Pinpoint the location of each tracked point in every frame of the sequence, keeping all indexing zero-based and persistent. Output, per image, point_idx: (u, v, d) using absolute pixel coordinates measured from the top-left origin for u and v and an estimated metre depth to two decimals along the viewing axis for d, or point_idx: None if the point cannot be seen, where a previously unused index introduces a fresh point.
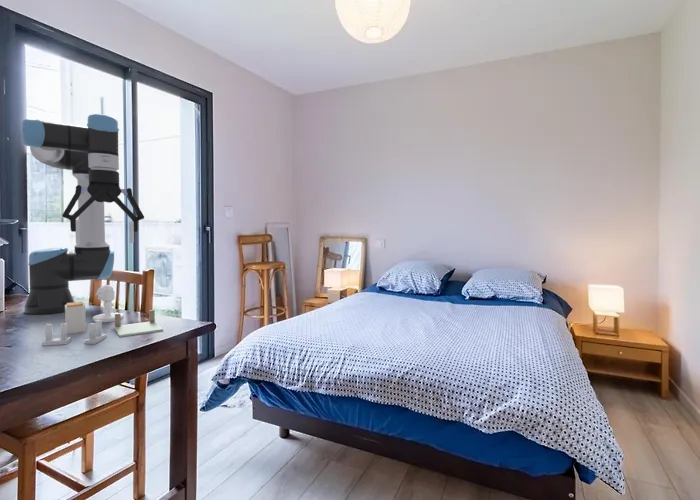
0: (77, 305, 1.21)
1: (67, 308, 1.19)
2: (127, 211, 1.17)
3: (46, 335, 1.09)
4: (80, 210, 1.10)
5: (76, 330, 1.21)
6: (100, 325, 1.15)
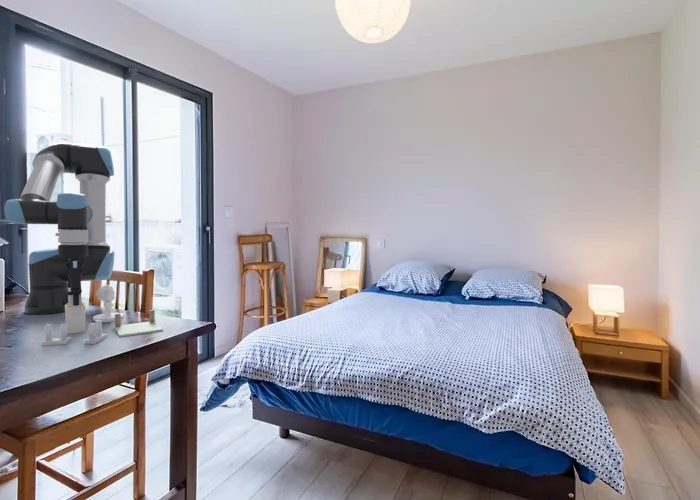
0: None
1: (67, 308, 1.19)
2: (70, 284, 1.16)
3: (46, 335, 1.09)
4: (68, 280, 1.25)
5: (76, 330, 1.21)
6: (100, 325, 1.15)
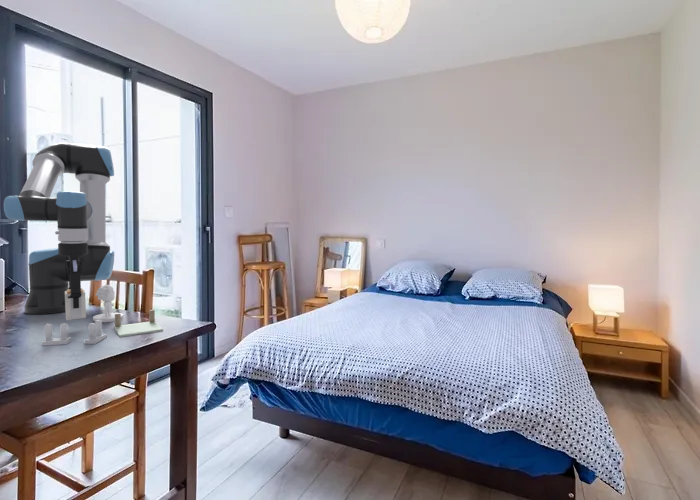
0: None
1: (67, 294, 1.19)
2: (70, 286, 1.19)
3: (46, 335, 1.09)
4: (69, 283, 1.24)
5: None
6: (100, 325, 1.15)
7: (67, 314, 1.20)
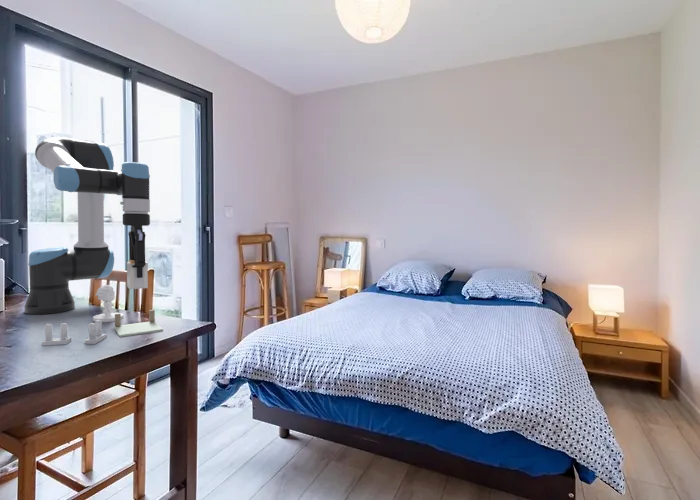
0: None
1: (131, 264, 1.21)
2: (134, 255, 1.21)
3: (46, 335, 1.09)
4: (131, 254, 1.25)
5: None
6: (100, 325, 1.15)
7: (131, 283, 1.21)
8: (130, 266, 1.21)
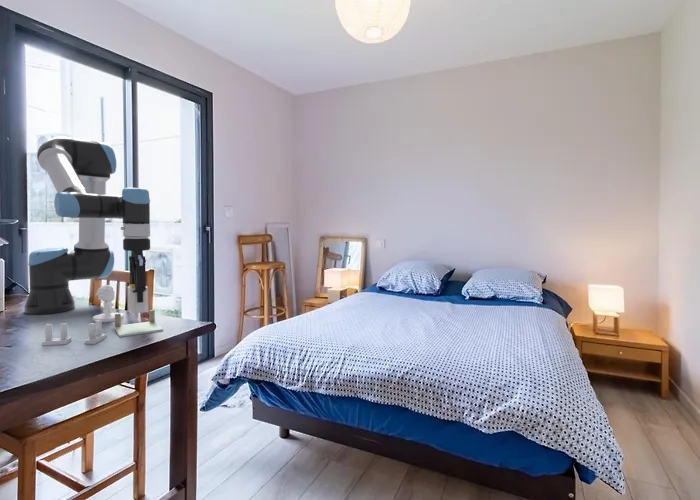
0: None
1: (131, 289, 1.21)
2: (134, 280, 1.21)
3: (46, 335, 1.09)
4: (131, 279, 1.26)
5: None
6: (100, 325, 1.15)
7: (131, 308, 1.22)
8: (131, 291, 1.21)
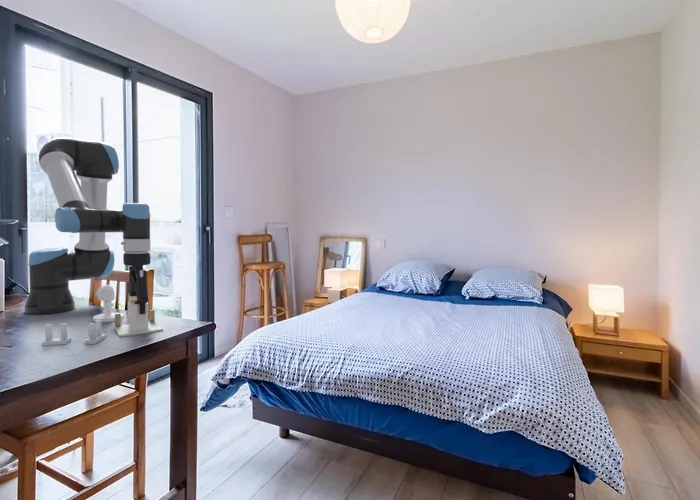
0: None
1: (132, 305, 1.22)
2: (136, 293, 1.20)
3: (46, 335, 1.09)
4: (130, 288, 1.28)
5: (139, 327, 1.24)
6: (100, 325, 1.15)
7: (131, 325, 1.22)
8: (131, 308, 1.22)
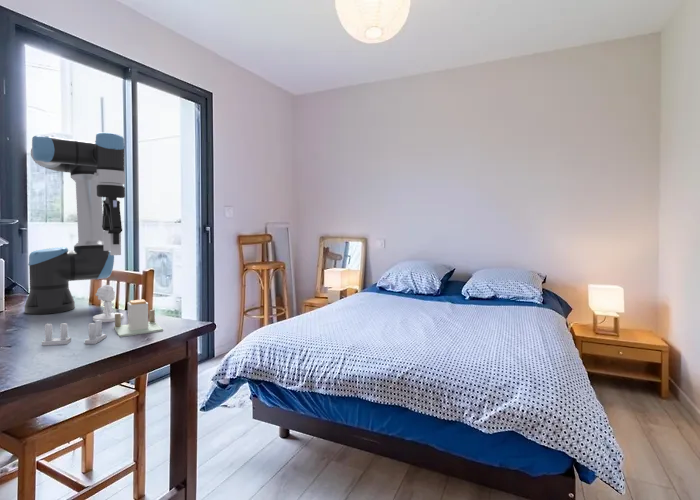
0: (140, 302, 1.24)
1: (132, 305, 1.22)
2: (109, 223, 1.18)
3: (46, 335, 1.09)
4: (104, 222, 1.27)
5: (139, 327, 1.24)
6: (100, 325, 1.15)
7: (131, 325, 1.22)
8: (131, 308, 1.22)
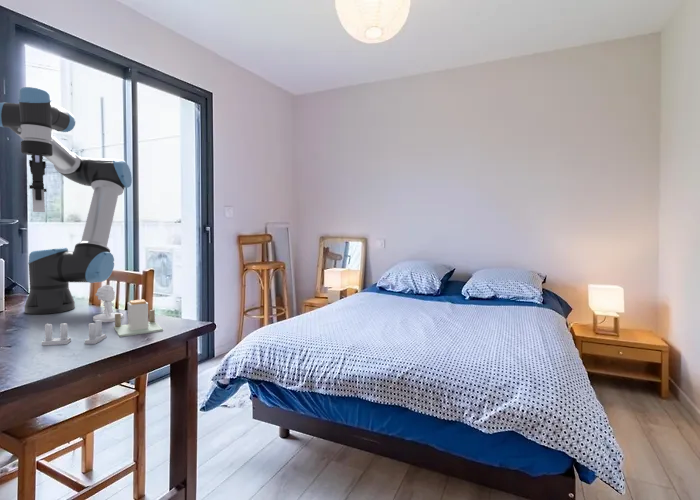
0: (140, 302, 1.24)
1: (132, 305, 1.22)
2: None
3: (46, 335, 1.09)
4: None
5: (139, 327, 1.24)
6: (100, 325, 1.15)
7: (131, 325, 1.22)
8: (131, 308, 1.22)
